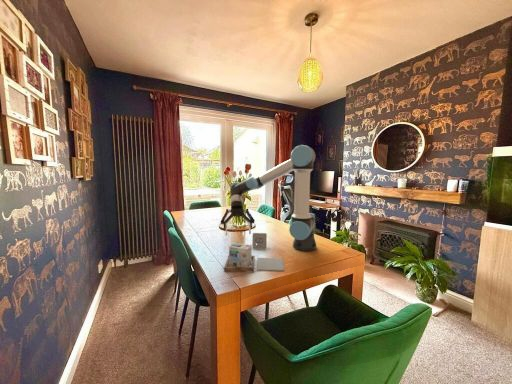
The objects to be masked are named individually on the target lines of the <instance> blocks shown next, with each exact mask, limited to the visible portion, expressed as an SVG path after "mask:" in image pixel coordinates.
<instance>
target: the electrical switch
mask: <svg viewBox="0 0 512 384" xmlns="http://www.w3.org/2000/svg"><path fill="white" fill-rule="evenodd" d="M267 237H268V234H267V233H266V232H253V233H252V248H257V249H258V248H261V249H264V248H265V249H266V248H267Z"/></svg>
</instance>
